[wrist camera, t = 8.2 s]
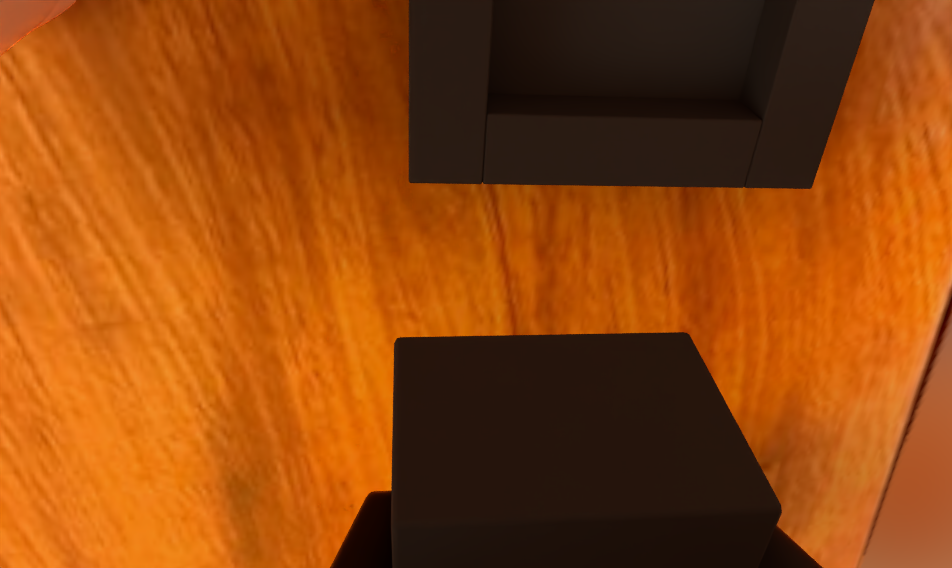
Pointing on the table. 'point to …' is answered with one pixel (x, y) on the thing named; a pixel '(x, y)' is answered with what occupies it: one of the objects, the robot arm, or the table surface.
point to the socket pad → (627, 90)
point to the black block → (570, 456)
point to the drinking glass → (26, 18)
